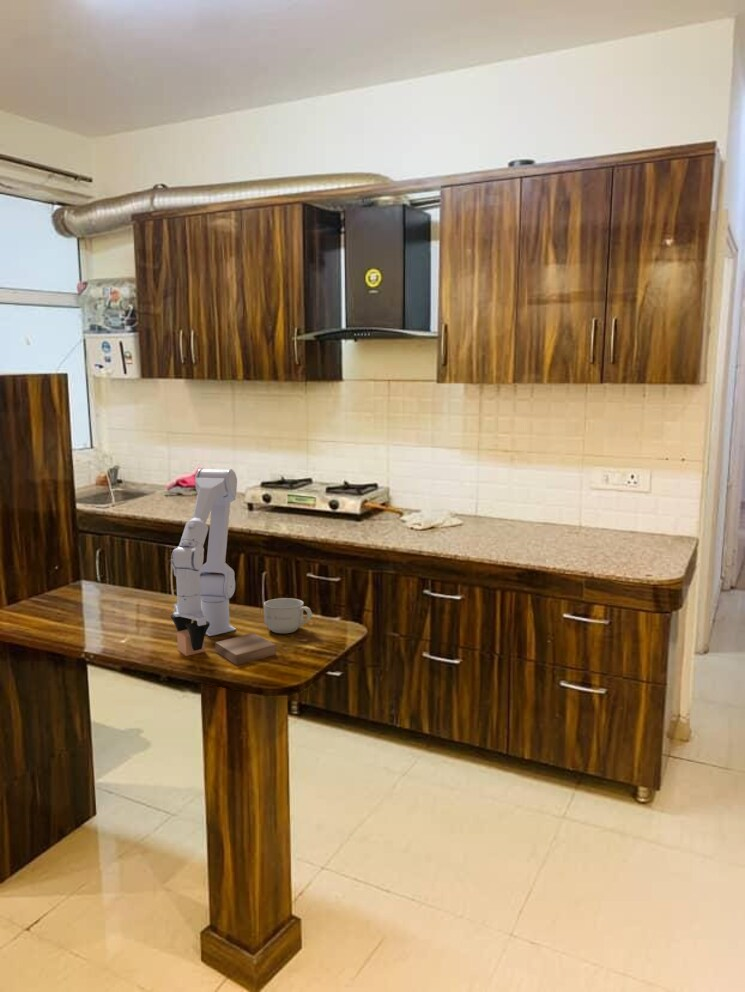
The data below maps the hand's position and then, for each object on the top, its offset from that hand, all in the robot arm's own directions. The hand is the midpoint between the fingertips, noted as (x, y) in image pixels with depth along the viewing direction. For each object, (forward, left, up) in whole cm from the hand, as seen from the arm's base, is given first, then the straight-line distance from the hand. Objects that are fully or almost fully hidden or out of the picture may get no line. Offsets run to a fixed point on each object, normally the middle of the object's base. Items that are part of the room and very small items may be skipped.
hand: (191, 645), depth 191 cm
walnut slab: (+10, +10, -2) cm, 14 cm away
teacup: (+3, +27, -2) cm, 27 cm away
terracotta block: (0, 0, -2) cm, 2 cm away
